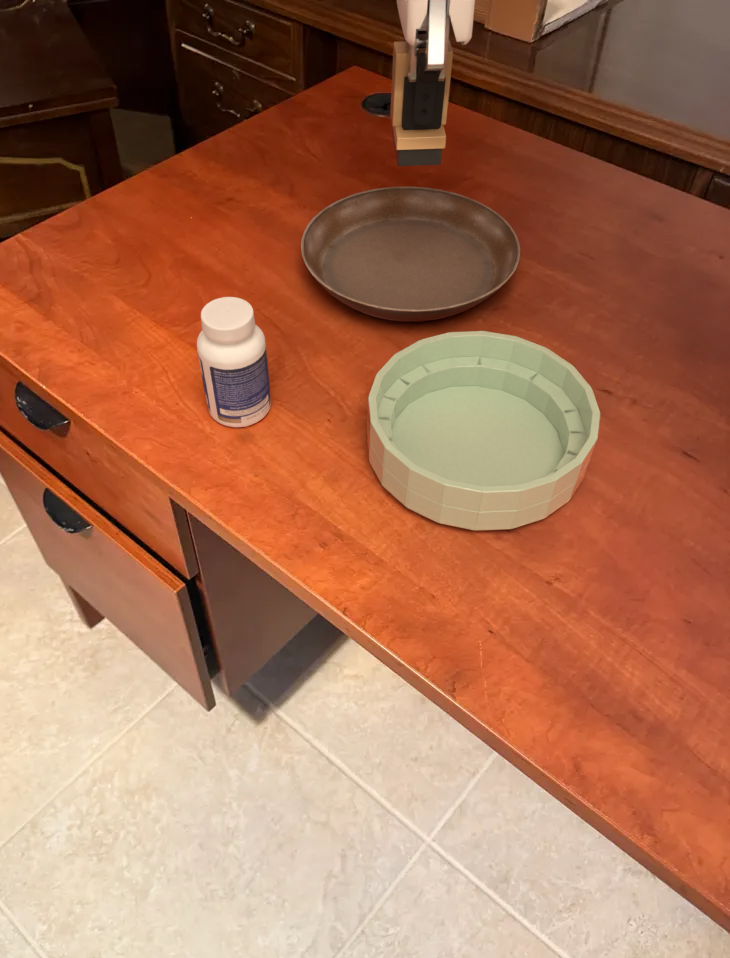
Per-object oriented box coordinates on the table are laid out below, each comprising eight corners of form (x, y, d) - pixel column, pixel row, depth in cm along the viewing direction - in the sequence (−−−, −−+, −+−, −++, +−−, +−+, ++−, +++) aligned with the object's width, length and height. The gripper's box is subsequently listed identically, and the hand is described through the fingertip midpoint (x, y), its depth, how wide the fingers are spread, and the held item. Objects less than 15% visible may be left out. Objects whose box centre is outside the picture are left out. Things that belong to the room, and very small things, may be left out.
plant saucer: (333, 200, 88) (333, 171, 86) (527, 227, 85) (533, 197, 82) (275, 319, 77) (272, 289, 74) (497, 357, 73) (503, 327, 70)
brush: (387, 132, 72) (391, 31, 66) (437, 130, 72) (446, 29, 66) (393, 168, 69) (398, 65, 62) (445, 166, 69) (456, 63, 62)
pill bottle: (284, 405, 70) (277, 310, 62) (238, 439, 67) (225, 345, 60) (240, 376, 72) (228, 281, 64) (194, 408, 70) (176, 313, 62)
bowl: (558, 373, 72) (571, 327, 68) (607, 530, 61) (625, 486, 57) (360, 381, 71) (361, 335, 67) (375, 539, 61) (378, 496, 57)
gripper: (520, -127, 49) (478, 169, 64) (479, -198, 59) (451, 73, 74) (394, -124, 49) (381, 172, 64) (374, -195, 59) (367, 76, 73)
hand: (419, 117), depth 69 cm, fingers closed on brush, 2 cm apart
